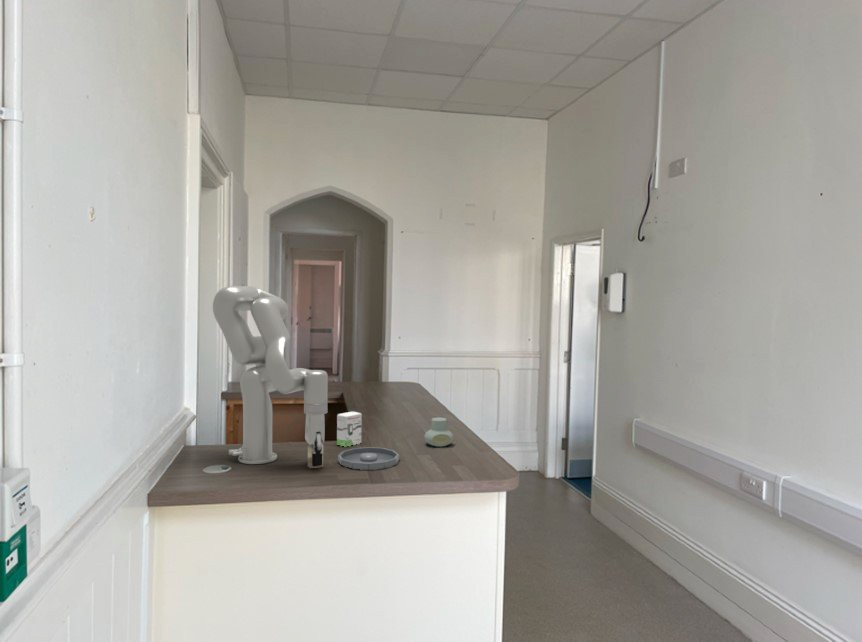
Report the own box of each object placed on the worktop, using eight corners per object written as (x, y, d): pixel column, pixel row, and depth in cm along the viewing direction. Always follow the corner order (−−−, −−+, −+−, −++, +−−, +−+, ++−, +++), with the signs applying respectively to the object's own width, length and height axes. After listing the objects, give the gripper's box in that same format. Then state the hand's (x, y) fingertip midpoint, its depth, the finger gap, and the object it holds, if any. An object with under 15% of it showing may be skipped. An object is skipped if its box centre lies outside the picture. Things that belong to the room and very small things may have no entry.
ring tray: (346, 472, 185) (346, 465, 185) (333, 456, 204) (333, 450, 204) (406, 466, 193) (406, 460, 192) (388, 451, 211) (388, 445, 211)
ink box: (345, 447, 215) (345, 416, 215) (336, 445, 218) (336, 414, 218) (361, 443, 222) (362, 412, 222) (352, 441, 225) (352, 411, 225)
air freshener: (426, 448, 216) (427, 421, 216) (422, 442, 225) (422, 417, 224) (455, 447, 219) (455, 420, 218) (450, 441, 227) (450, 416, 226)
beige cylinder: (309, 469, 188) (309, 447, 188) (306, 465, 193) (306, 444, 193) (324, 467, 190) (324, 446, 190) (321, 463, 195) (321, 442, 195)
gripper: (300, 404, 197) (299, 457, 198) (308, 414, 181) (308, 471, 182) (322, 402, 200) (321, 455, 201) (332, 412, 184) (332, 469, 185)
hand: (315, 462), depth 192 cm, fingers open, 5 cm apart
